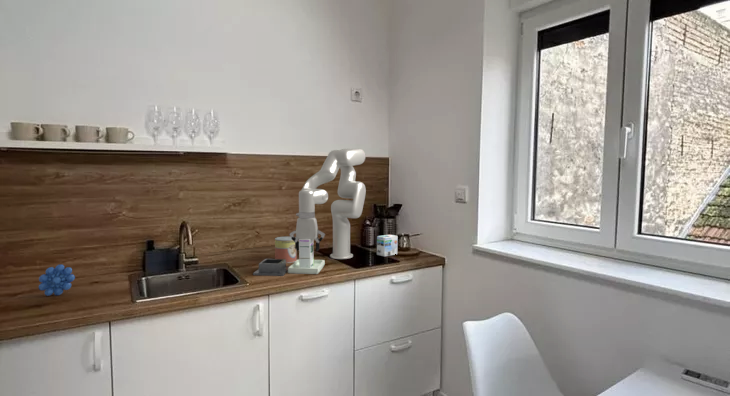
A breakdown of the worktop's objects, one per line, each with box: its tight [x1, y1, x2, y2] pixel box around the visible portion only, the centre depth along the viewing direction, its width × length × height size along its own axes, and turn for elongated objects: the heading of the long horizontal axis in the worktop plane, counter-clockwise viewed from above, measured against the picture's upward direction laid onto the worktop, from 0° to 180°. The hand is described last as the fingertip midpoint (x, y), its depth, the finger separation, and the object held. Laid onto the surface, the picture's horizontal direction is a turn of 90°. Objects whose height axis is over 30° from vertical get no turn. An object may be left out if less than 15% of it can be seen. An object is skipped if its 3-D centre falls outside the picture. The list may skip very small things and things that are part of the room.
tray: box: [287, 258, 326, 275], centre depth 201 cm, size 18×14×2 cm
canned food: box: [274, 236, 298, 264], centre depth 217 cm, size 11×11×12 cm
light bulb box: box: [376, 234, 399, 257], centre depth 234 cm, size 11×7×11 cm, turn 131°
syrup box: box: [298, 239, 315, 268], centre depth 200 cm, size 6×6×14 cm
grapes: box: [38, 264, 76, 296], centre depth 158 cm, size 12×7×12 cm, turn 113°
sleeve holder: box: [252, 258, 291, 277], centre depth 195 cm, size 14×14×5 cm
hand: (307, 250), depth 200 cm, fingers open, 9 cm apart
